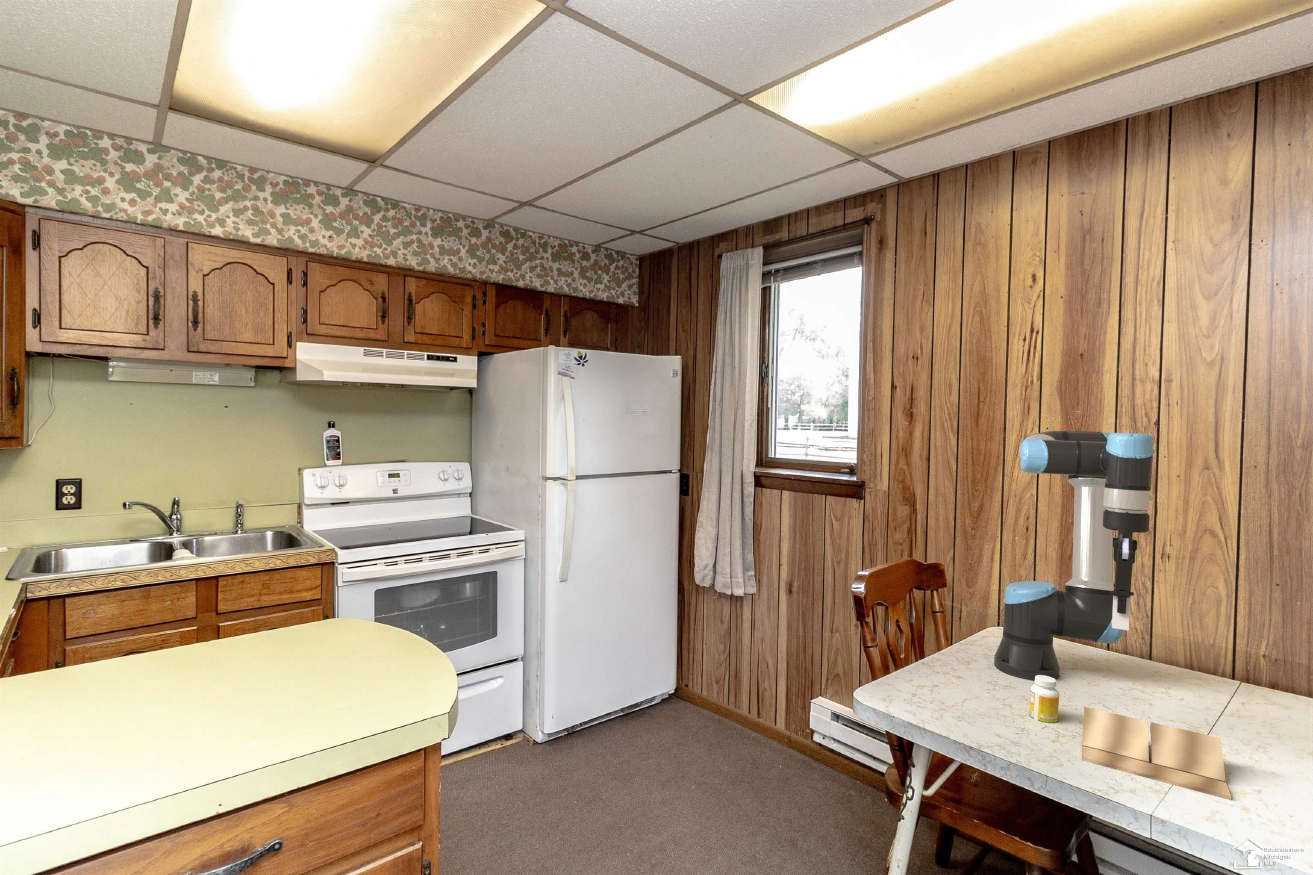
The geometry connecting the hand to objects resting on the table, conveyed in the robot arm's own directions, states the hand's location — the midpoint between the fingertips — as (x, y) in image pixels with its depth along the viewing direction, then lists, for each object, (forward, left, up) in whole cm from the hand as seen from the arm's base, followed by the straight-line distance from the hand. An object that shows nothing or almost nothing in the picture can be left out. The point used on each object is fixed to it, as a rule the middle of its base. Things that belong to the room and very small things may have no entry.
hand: (1120, 628), depth 131 cm
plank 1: (0, -2, -21) cm, 21 cm away
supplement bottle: (-13, +5, -25) cm, 28 cm away
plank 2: (+11, -2, -21) cm, 24 cm away
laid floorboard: (+5, -9, -24) cm, 27 cm away
